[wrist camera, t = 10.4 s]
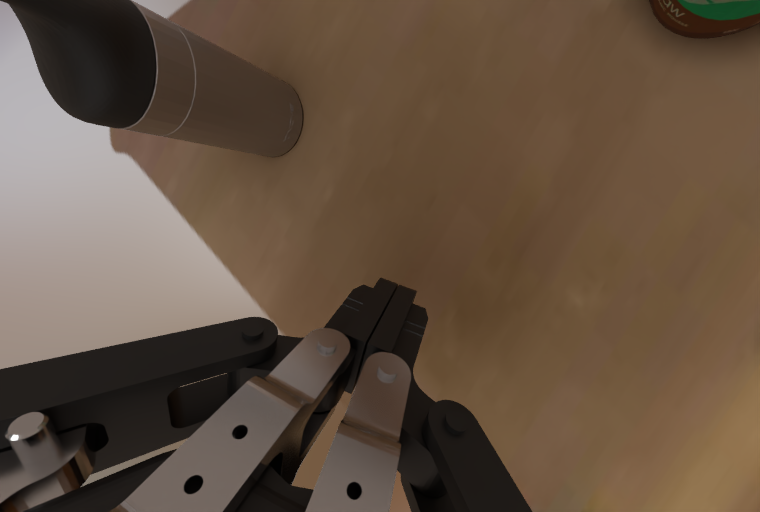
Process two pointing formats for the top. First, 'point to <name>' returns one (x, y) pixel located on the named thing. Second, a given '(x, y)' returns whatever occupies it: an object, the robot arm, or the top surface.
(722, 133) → the top surface
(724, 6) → the food container
